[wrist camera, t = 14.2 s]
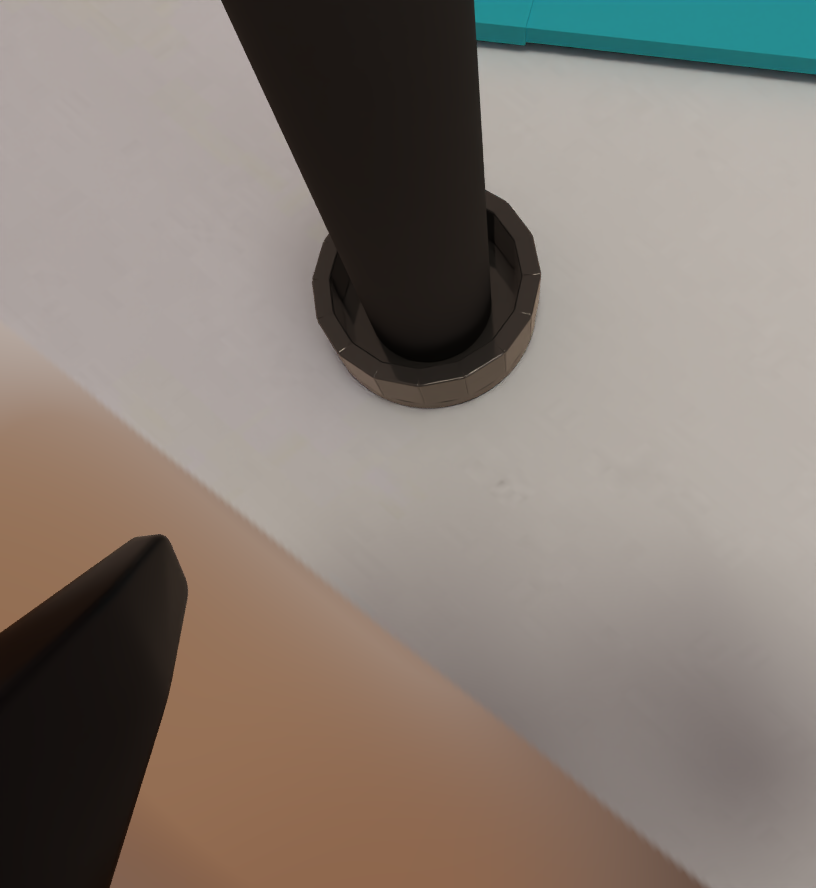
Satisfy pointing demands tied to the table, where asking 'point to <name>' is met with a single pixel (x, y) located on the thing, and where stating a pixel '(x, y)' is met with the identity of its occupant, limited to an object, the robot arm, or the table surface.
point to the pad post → (386, 152)
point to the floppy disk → (663, 28)
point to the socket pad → (456, 375)
